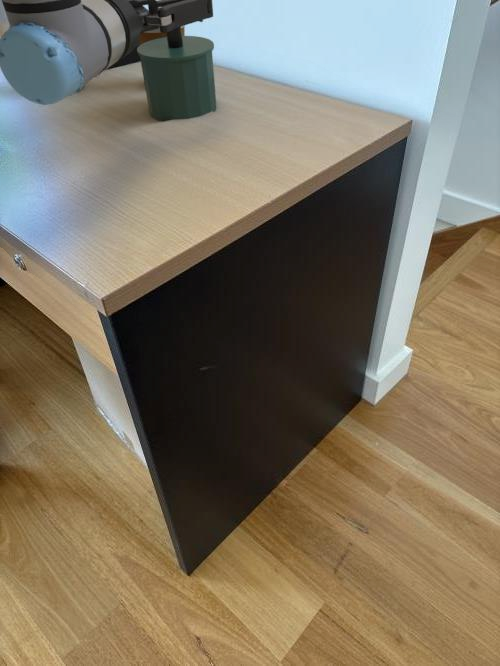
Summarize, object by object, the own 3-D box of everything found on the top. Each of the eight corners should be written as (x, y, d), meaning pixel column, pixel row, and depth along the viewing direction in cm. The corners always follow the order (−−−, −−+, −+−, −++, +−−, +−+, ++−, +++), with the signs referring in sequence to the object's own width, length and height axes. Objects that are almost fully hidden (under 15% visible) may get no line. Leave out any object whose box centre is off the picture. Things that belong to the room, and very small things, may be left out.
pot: (142, 105, 91) (131, 46, 85) (202, 93, 95) (196, 36, 88) (162, 127, 84) (152, 65, 77) (226, 113, 87) (222, 52, 80)
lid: (129, 50, 85) (116, -23, 78) (198, 39, 89) (191, -32, 82) (151, 70, 77) (138, -9, 70) (226, 57, 81) (221, -20, 74)
